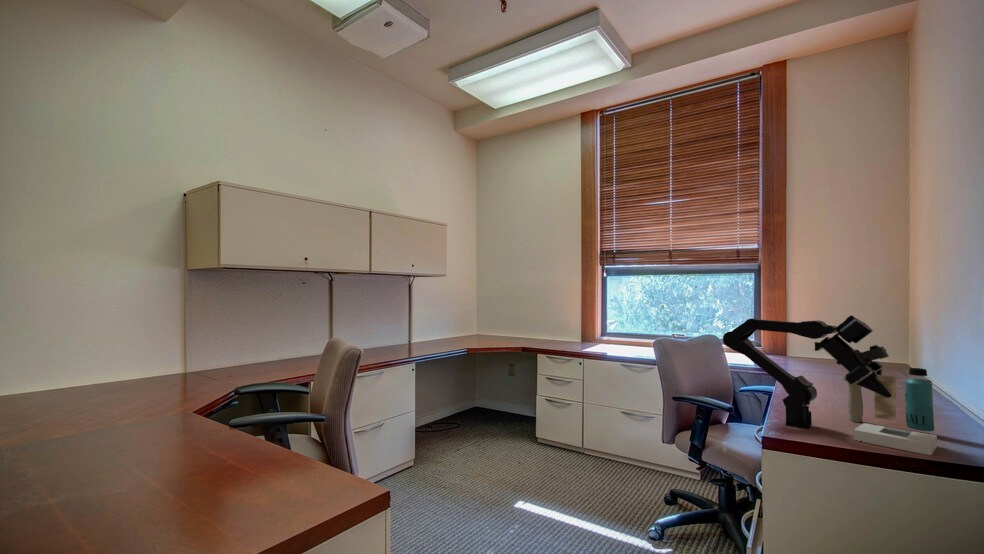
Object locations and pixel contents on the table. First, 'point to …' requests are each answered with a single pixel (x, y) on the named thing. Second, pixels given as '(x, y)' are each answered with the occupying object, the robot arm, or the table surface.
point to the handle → (855, 401)
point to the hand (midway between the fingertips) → (891, 395)
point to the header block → (896, 438)
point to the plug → (886, 399)
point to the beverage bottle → (919, 401)
